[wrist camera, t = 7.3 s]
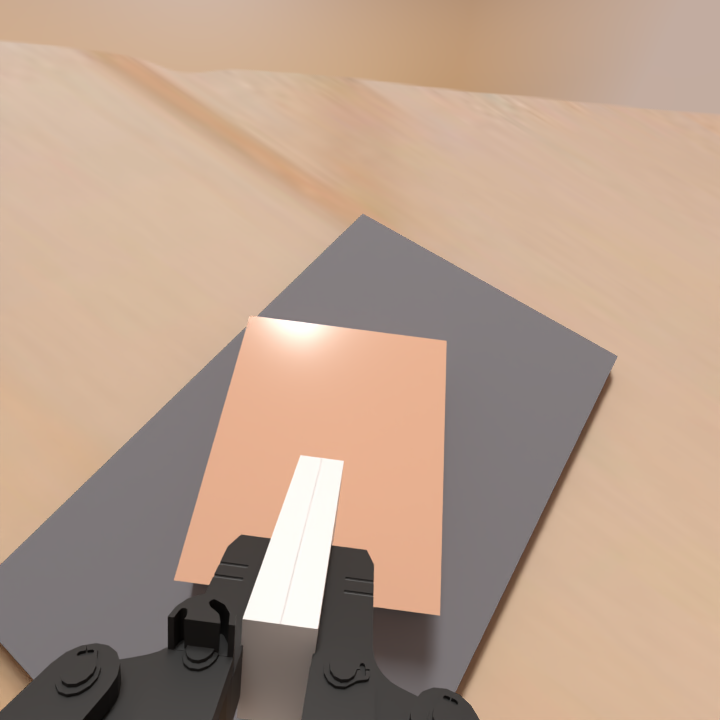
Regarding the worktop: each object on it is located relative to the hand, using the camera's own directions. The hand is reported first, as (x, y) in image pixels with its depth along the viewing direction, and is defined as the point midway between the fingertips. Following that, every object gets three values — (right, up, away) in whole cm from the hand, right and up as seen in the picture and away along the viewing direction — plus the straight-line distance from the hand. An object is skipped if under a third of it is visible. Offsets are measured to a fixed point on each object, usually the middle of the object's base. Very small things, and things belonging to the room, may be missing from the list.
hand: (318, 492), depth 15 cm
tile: (-1, -5, +2) cm, 5 cm away
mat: (+1, -1, +7) cm, 7 cm away
